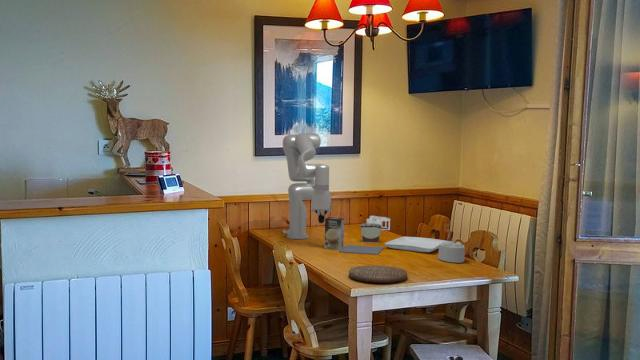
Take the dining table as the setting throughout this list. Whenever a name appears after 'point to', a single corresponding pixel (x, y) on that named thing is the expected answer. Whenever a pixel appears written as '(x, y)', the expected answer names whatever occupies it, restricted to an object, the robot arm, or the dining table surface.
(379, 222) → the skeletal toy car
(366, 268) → the trivet
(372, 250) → the mat
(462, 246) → the lumpy-topped squat cylinder
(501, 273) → the dining table surface
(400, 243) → the square plate
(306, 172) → the robot arm
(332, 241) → the coffee box
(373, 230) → the food container
